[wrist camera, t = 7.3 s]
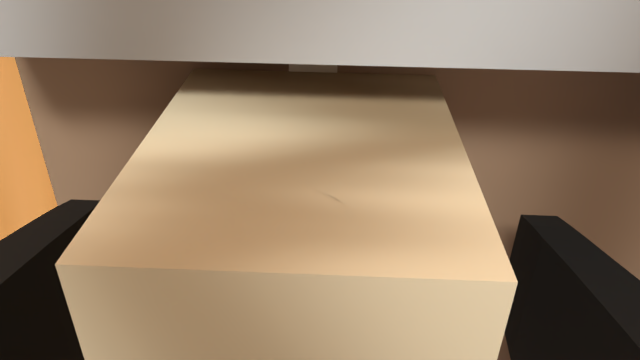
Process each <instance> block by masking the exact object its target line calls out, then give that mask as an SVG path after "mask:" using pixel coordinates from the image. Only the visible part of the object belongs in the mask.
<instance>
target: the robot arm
mask: <svg viewBox="0 0 640 360" xmlns="http://www.w3.org/2000/svg"><path fill="white" fill-rule="evenodd" d="M99 202H100V200H76V199H71V200H69V201H67V202H65V203H63V204H61V205H59V206H57V207H55V208H54V209H52V210H50V211H48V212H47V213H45V214H43V215H42V216H40V217H38V218H37V219H35V220H33V221H32V222H30V223H28V224H27V225H25V226H23V227H22V228H20V229H18V230H17V231H15V232H14V233H12V234H10V235H9V236H7V237H5V238H4V239H2V240H0V360H85V359H84V356H83V353H82V350H81V347H80V343H79V340H78V337H77V334H76V330H75V327H74V324H73V321H72V318H71V314H70V311H69V308H68V305H67V302H66V298H65V295H64V292H63V289H62V286H61V282H60V279H59V276H58V273H57V270H56V266H55V264H56V262H57V261H58V259H59V258H60V256H61V255H62V254H63V252H64V251H65V249H66V248H67V247H68V245H69V244H70V242H71V241H72V240H73V238H74V237H75V235H76V234H77V233H78V231H79V230H80V228H81V227H82V226H83V224H84V223H85V221H86V220H87V218H88V217H89V216H90V214H91V213H92V211H93V210H94V209H95V207H96V206H97V204H98V203H99ZM509 261H510V264H511V266H512V269H513V271H514V274H515V276H516V279H517V281H518V284H517V288H516V291H515V295H514V299H513V303H512V306H511V310H510V314H509V317H508V321H507V325H506V329H505V332H504V333H505V337H506V342H507V346H508V351H509V355H510V358H511V360H640V280H639V279H638V278H636V277H635V276H634V275H633V274H631V273H630V272H629V271H627V270H626V269H625V268H624V267H622V266H621V265H620V264H619V263H617V262H616V261H615V260H614V259H612V258H611V257H610V256H609V255H607V254H606V253H605V252H604V251H602V250H601V249H600V248H599V247H597V246H596V245H595V244H594V243H592V242H591V241H590V240H589V239H587V238H586V237H585V236H584V235H582V234H581V233H580V232H578V231H577V230H576V229H575V228H573V227H572V226H571V225H569V224H568V223H567V222H565V221H564V220H562V219H561V218H559V217H558V216H547V215H521V216H520V220H519V224H518V228H517V232H516V236H515V240H514V244H513V248H512V252H511V256H510V260H509Z"/></svg>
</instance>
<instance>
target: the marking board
mask: <svg viewBox="0 0 640 360" xmlns="http://www.w3.org/2000/svg"><path fill="white" fill-rule="evenodd" d="M0 57H15V60H16V63H17V67H18V70H19V74H20V77H21V80H22V84H23V87H24V91H25V94H26V98H27V101H28V105H29V108H30V112H31V115H32V118H33V122H34V125H35V129H36V132H37V136H38V139H39V143H40V146H41V150H42V153H43V156H44V160H45V163H46V167H47V170H48V174H49V177H50V181H51V184H52V187H53V191H54V194H55V198H56V201H57V205H58V206H59V205H61V204H63V203H65V202H67V201H69V200H71V199H76V200H101V199H102V197H103V196H104V195H105V193H106V192H107V190H108V189H109V187H110V186H111V185H112V183H113V182H114V180H115V179H116V178H117V176H118V175H119V173H120V172H121V171H122V169H123V168H124V166H125V165H126V164H127V162H128V161H129V159H130V158H131V157H132V155H133V154H134V152H135V151H136V149H137V148H138V147H139V145H140V144H141V142H142V141H143V140H144V138H145V137H146V135H147V134H148V133H149V131H150V130H151V128H152V127H153V126H154V124H155V123H156V121H157V120H158V118H159V117H160V116H161V114H162V113H163V111H164V110H165V109H166V107H167V106H168V104H169V103H170V102H171V100H172V99H173V97H174V96H175V95H176V93H177V92H178V90H179V89H180V88H181V86H182V85H183V83H184V82H185V80H186V79H187V78H188V76H189V75H190V73H191V72H192V71H193V69H219V70H256V71H292V72H328V73H365V74H401V75H435V76H436V78H437V81H438V83H439V86H440V88H441V91H442V93H443V96H444V98H445V101H446V103H447V106H448V108H449V111H450V113H451V116H452V118H453V121H454V123H455V126H456V128H457V131H458V133H459V136H460V138H461V141H462V143H463V146H464V148H465V151H466V153H467V156H468V158H469V161H470V163H471V166H472V168H473V171H474V173H475V176H476V178H477V181H478V183H479V186H480V188H481V191H482V193H483V196H484V198H485V201H486V203H487V206H488V208H489V211H490V213H491V216H492V218H493V221H494V224H495V226H496V229H497V231H498V234H499V236H500V239H501V241H502V244H503V246H504V249H505V251H506V254H507V256H508V259H509V260H510V256H511V252H512V248H513V244H514V240H515V236H516V232H517V228H518V224H519V220H520V216H521V215H547V216H558V217H559V218H561V219H562V220H564V221H565V222H567V223H568V224H569V225H571V226H572V227H573V228H575V229H576V230H577V231H578V232H580V233H581V234H582V235H584V236H585V237H586V238H587V239H589V240H590V241H591V242H592V243H594V244H595V245H596V246H597V247H599V248H600V249H601V250H602V251H604V252H605V253H606V254H607V255H609V256H610V257H611V258H612V259H614V260H615V261H616V262H617V263H619V264H620V265H621V266H622V267H624V268H625V269H626V270H627V271H629V272H630V273H631V274H633V275H634V276H635V277H636V278H638V279H639V280H640V0H0ZM497 360H511V358H510V355H509V351H508V346H507V342H506V337H505V333H504V336H503V340H502V343H501V347H500V351H499V355H498V358H497Z"/></svg>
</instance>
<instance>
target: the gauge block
mask: <svg viewBox="0 0 640 360" xmlns="http://www.w3.org/2000/svg"><path fill="white" fill-rule="evenodd" d="M55 266H56V270H57V273H58V276H59V279H60V282H61V286H62V289H63V292H64V295H65V298H66V302H67V305H68V308H69V311H70V314H71V318H72V321H73V324H74V327H75V330H76V334H77V337H78V340H79V343H80V347H81V350H82V353H83V356H84V359H85V360H497V358H498V355H499V351H500V347H501V343H502V340H503V336H504V332H505V329H506V325H507V321H508V317H509V314H510V310H511V306H512V303H513V299H514V295H515V291H516V288H517V284H518V281H517V279H516V276H515V274H514V271H513V269H512V266H511V264H510V261H509V259H508V256H507V254H506V251H505V249H504V246H503V244H502V241H501V239H500V236H499V234H498V231H497V229H496V226H495V224H494V221H493V218H492V216H491V213H490V211H489V208H488V206H487V203H486V201H485V198H484V196H483V193H482V191H481V188H480V186H479V183H478V181H477V178H476V176H475V173H474V171H473V168H472V166H471V163H470V161H469V158H468V156H467V153H466V151H465V148H464V146H463V143H462V141H461V138H460V136H459V133H458V131H457V128H456V126H455V123H454V121H453V118H452V116H451V113H450V111H449V108H448V106H447V103H446V101H445V98H444V96H443V93H442V91H441V88H440V86H439V83H438V81H437V78H436V76H435V75H401V74H365V73H328V72H292V71H256V70H219V69H193V71H192V72H191V73H190V75H189V76H188V78H187V79H186V80H185V82H184V83H183V85H182V86H181V88H180V89H179V90H178V92H177V93H176V95H175V96H174V97H173V99H172V100H171V102H170V103H169V104H168V106H167V107H166V109H165V110H164V111H163V113H162V114H161V116H160V117H159V118H158V120H157V121H156V123H155V124H154V126H153V127H152V128H151V130H150V131H149V133H148V134H147V135H146V137H145V138H144V140H143V141H142V142H141V144H140V145H139V147H138V148H137V149H136V151H135V152H134V154H133V155H132V157H131V158H130V159H129V161H128V162H127V164H126V165H125V166H124V168H123V169H122V171H121V172H120V173H119V175H118V176H117V178H116V179H115V180H114V182H113V183H112V185H111V186H110V187H109V189H108V190H107V192H106V193H105V195H104V196H103V197H102V199H101V200H100V202H99V203H98V204H97V206H96V207H95V209H94V210H93V211H92V213H91V214H90V216H89V217H88V218H87V220H86V221H85V223H84V224H83V226H82V227H81V228H80V230H79V231H78V233H77V234H76V235H75V237H74V238H73V240H72V241H71V242H70V244H69V245H68V247H67V248H66V249H65V251H64V252H63V254H62V255H61V256H60V258H59V259H58V261H57V262H56V264H55Z"/></svg>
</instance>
